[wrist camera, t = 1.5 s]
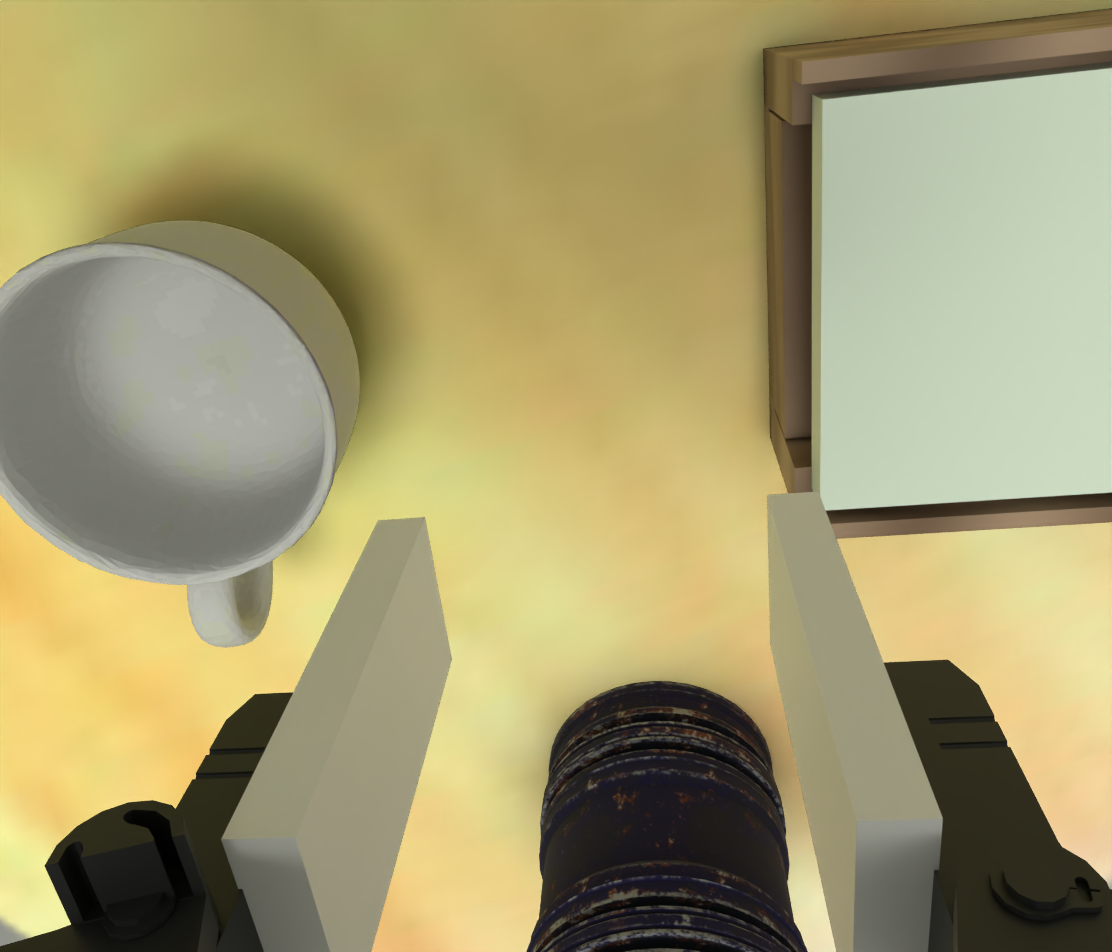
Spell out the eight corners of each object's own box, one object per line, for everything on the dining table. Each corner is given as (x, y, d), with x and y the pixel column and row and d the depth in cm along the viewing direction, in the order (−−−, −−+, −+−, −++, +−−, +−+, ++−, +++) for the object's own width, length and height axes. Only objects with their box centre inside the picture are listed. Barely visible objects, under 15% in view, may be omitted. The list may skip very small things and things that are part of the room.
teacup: (76, 180, 33) (-78, 229, 26) (392, 209, 33) (324, 267, 26) (124, 536, 39) (10, 655, 32) (390, 563, 39) (336, 690, 32)
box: (770, 437, 35) (803, 540, 29) (763, 48, 30) (801, 62, 23) (1304, 398, 33) (1476, 500, 27) (1402, -26, 28) (1652, -35, 21)
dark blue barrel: (520, 699, 41) (466, 1032, 28) (751, 659, 40) (812, 993, 26) (579, 867, 45) (557, 1228, 32) (791, 837, 44) (861, 1206, 30)
